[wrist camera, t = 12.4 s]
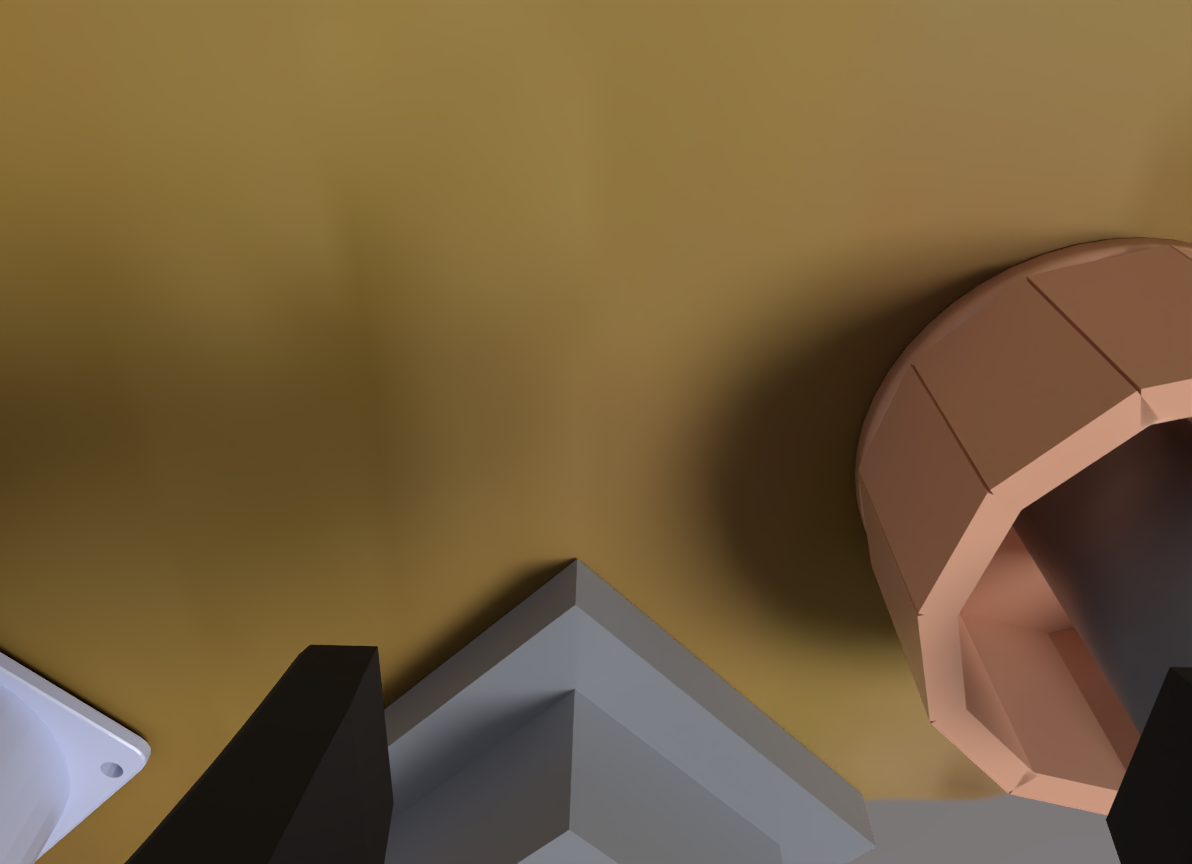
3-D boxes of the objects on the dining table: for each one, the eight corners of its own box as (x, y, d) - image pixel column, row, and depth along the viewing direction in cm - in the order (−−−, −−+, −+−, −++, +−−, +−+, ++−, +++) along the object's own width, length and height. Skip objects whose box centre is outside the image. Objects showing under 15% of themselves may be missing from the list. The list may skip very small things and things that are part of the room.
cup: (1009, 686, 23) (1104, 880, 18) (764, 447, 20) (809, 612, 15) (1396, 458, 20) (1619, 627, 15) (1176, 131, 17) (1377, 228, 12)
